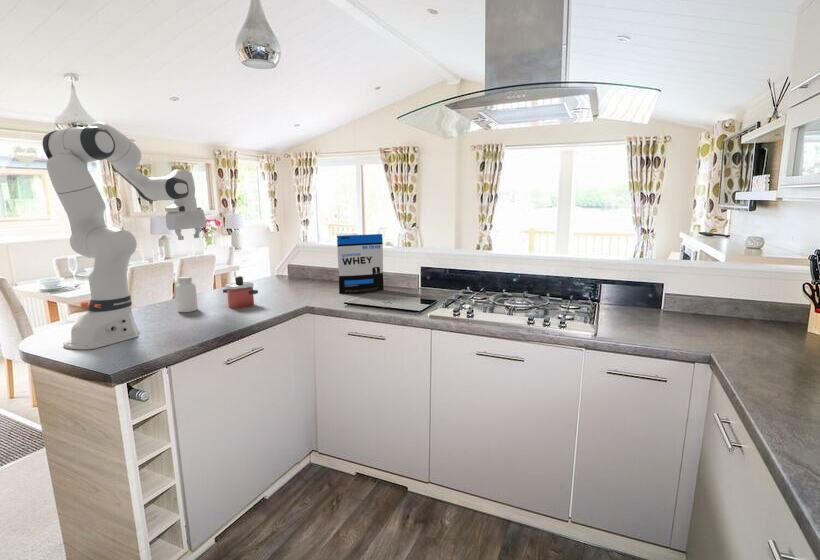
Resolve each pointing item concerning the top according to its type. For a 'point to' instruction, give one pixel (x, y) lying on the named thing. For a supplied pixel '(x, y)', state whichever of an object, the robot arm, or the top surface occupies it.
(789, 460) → the top surface
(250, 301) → the pot
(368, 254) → the protein powder
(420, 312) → the top surface
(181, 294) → the pill bottle
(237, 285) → the lid
